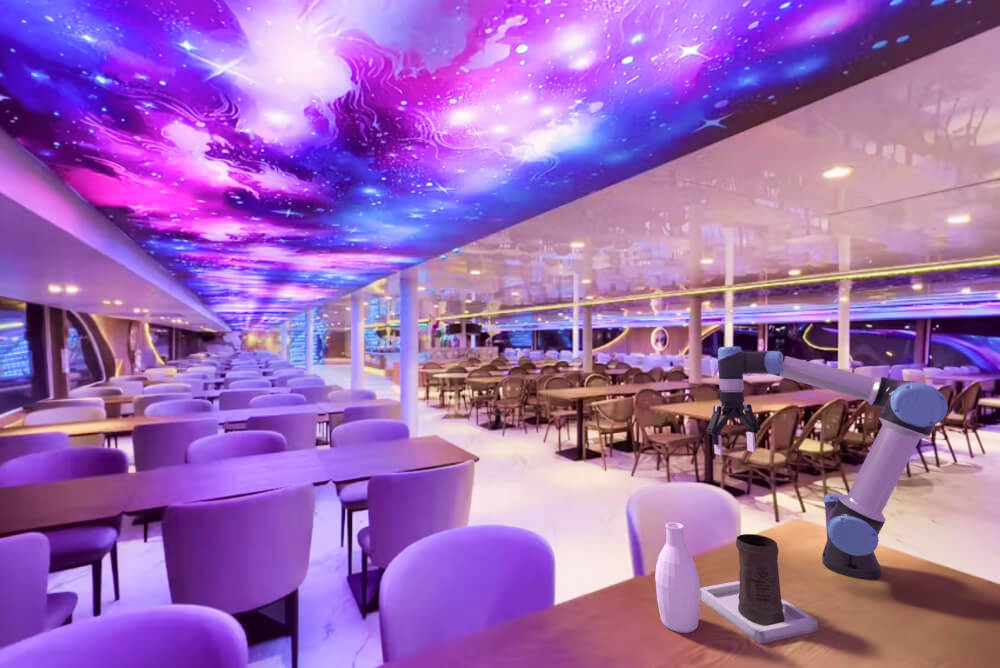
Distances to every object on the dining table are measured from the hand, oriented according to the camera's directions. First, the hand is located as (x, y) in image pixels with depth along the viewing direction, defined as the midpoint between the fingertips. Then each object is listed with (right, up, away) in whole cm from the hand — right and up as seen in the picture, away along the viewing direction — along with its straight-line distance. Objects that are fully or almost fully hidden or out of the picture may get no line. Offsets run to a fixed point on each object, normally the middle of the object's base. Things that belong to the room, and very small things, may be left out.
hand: (735, 452), depth 154 cm
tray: (-12, -35, -32) cm, 49 cm away
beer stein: (-11, -35, -32) cm, 48 cm away
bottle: (-34, -36, -36) cm, 61 cm away
